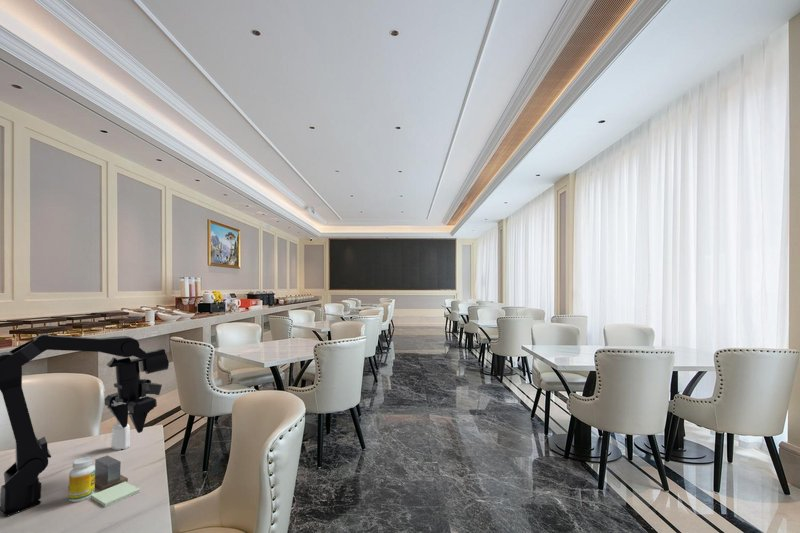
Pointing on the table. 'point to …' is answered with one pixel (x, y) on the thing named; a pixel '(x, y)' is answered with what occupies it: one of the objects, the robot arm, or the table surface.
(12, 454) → the table surface
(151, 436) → the table surface
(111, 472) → the mounted unit
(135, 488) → the sage pad
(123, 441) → the eye dropper bottle
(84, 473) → the supplement bottle
